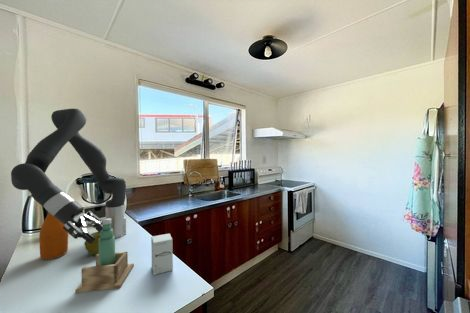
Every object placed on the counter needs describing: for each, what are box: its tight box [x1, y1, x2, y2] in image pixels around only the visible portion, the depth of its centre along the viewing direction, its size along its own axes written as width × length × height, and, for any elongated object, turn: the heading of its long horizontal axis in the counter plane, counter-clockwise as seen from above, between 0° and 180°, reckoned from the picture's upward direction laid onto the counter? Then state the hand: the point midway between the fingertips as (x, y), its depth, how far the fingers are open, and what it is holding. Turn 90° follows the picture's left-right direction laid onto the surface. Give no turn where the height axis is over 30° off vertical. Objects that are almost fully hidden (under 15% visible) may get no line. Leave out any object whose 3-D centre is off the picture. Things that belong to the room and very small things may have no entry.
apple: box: [84, 231, 100, 256], centre depth 95 cm, size 10×10×11 cm
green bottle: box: [99, 217, 116, 266], centre depth 75 cm, size 5×5×21 cm
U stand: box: [74, 251, 135, 294], centre depth 75 cm, size 14×14×7 cm
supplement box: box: [151, 233, 174, 276], centre depth 81 cm, size 7×7×13 cm
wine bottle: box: [38, 211, 69, 260], centre depth 93 cm, size 10×10×30 cm
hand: (99, 236), depth 75 cm, fingers open, 8 cm apart
